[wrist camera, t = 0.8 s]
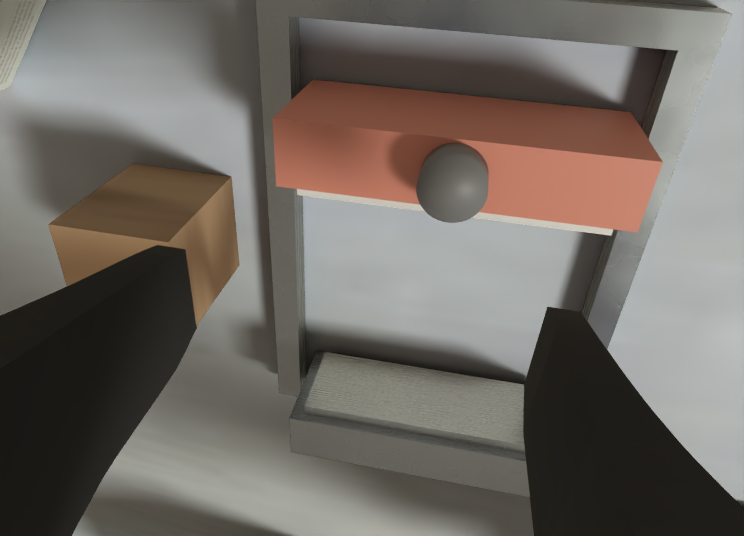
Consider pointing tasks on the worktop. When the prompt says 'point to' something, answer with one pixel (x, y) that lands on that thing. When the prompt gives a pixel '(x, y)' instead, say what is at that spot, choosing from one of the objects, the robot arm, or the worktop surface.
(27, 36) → the small box
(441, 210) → the free jaw
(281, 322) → the vise body
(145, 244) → the walnut block
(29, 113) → the worktop surface
